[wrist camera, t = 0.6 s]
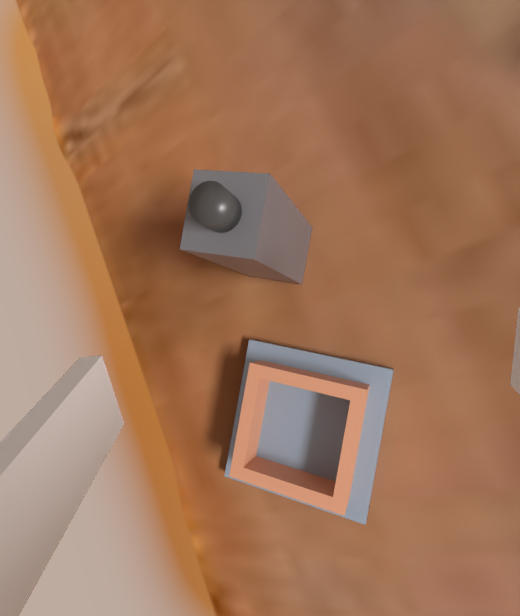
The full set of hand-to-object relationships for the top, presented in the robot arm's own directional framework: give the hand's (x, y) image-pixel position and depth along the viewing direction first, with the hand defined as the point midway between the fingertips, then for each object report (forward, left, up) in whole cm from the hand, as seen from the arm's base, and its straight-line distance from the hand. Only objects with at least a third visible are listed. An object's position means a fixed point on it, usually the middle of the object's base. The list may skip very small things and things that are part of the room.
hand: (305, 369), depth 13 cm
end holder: (+7, -3, -20) cm, 22 cm away
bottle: (-7, -8, -20) cm, 23 cm away
